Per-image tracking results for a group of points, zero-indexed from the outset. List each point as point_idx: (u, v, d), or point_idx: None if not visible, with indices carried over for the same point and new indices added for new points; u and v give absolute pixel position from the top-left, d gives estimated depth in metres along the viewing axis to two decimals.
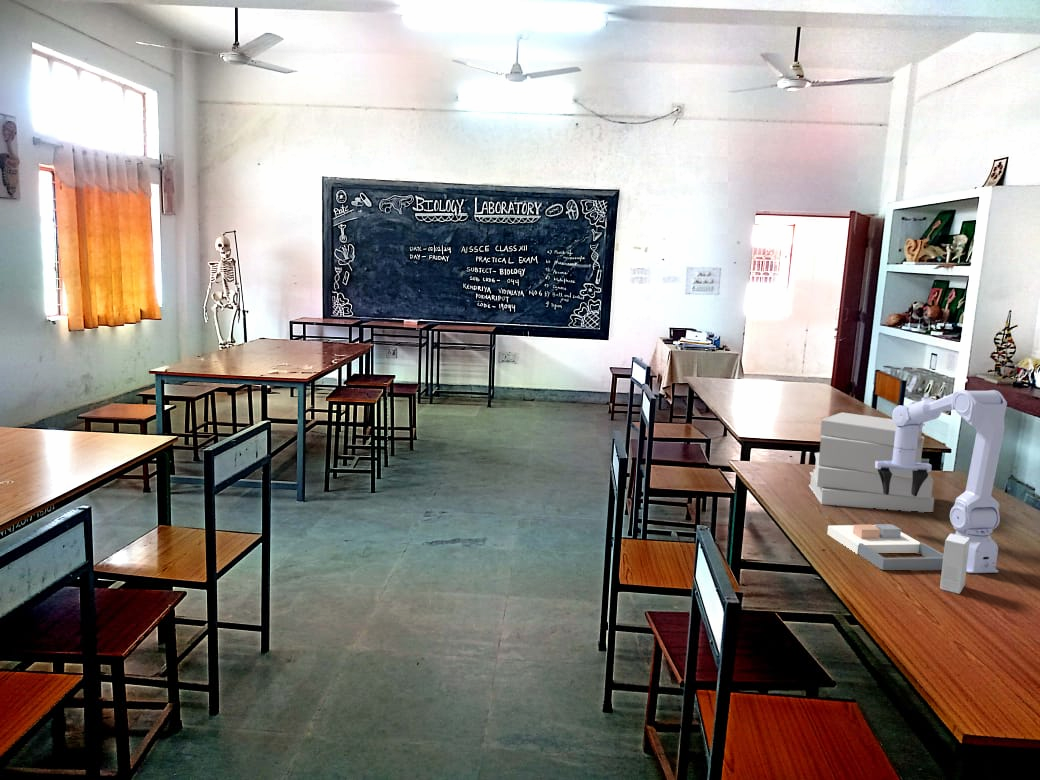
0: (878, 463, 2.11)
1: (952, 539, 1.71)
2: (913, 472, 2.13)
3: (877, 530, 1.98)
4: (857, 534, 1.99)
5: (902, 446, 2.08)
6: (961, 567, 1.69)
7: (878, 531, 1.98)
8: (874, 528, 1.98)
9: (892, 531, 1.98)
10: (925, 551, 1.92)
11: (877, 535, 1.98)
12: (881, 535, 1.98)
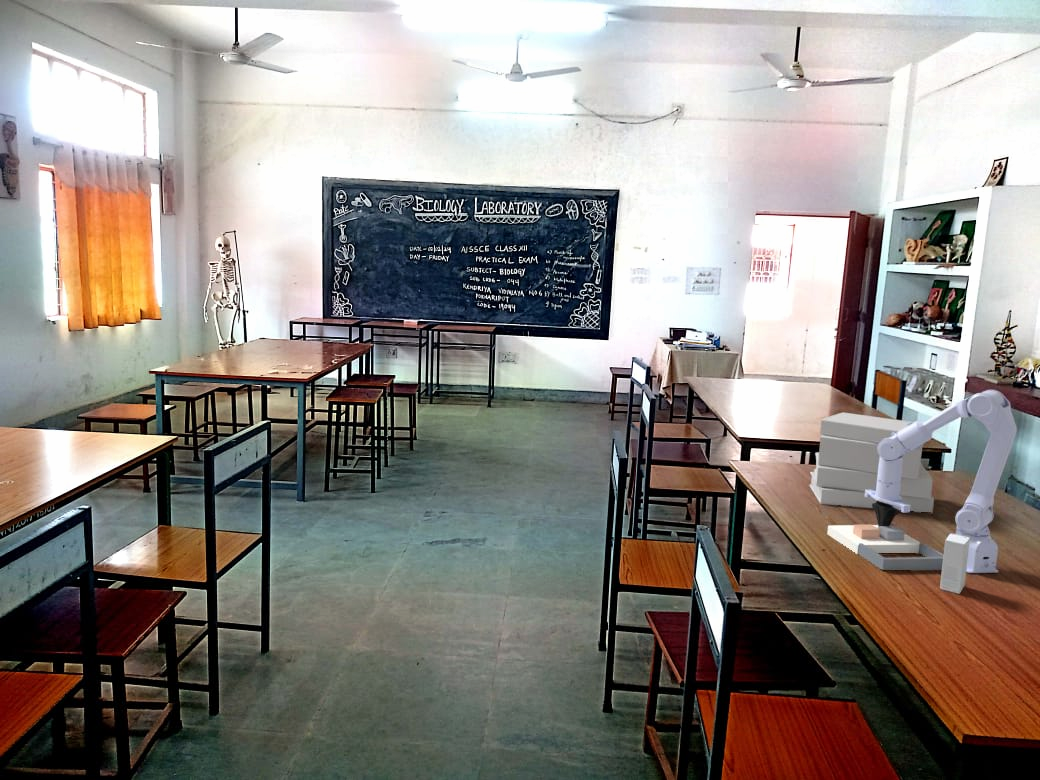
0: (865, 490, 2.07)
1: (952, 539, 1.71)
2: None
3: (877, 530, 1.98)
4: (857, 534, 1.99)
5: (892, 481, 1.97)
6: (961, 567, 1.69)
7: (878, 531, 1.98)
8: (874, 528, 1.98)
9: (896, 533, 1.97)
10: (925, 551, 1.92)
11: (877, 535, 1.98)
12: (885, 537, 1.97)
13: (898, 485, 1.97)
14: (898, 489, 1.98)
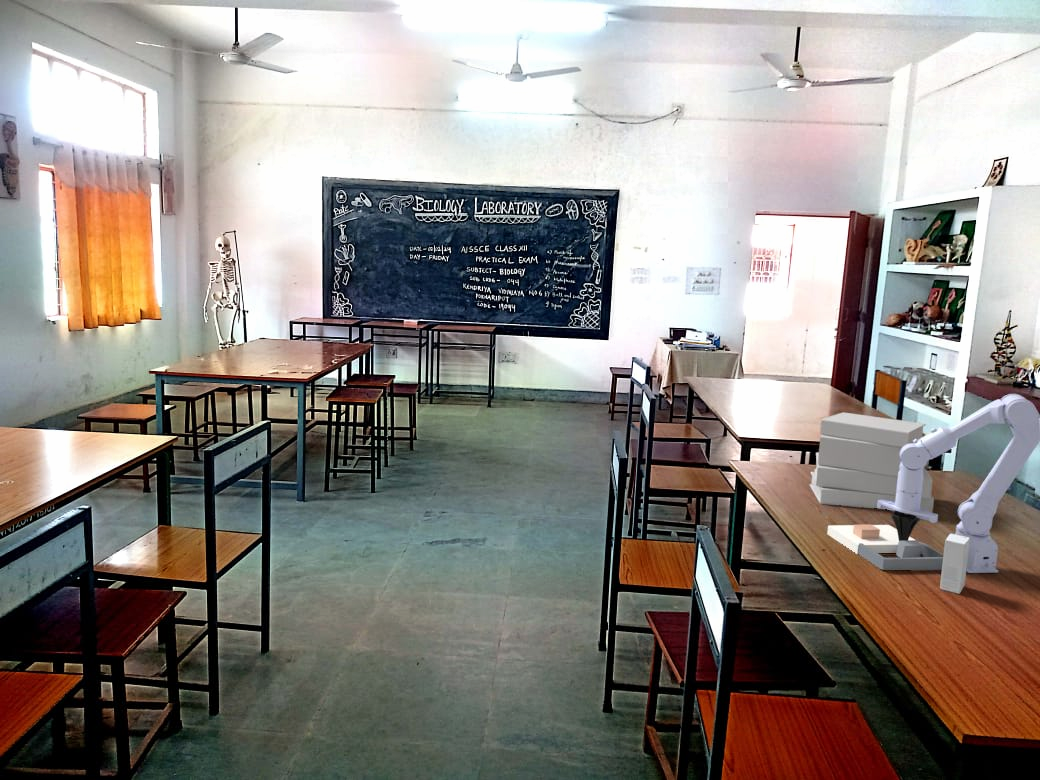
0: (878, 501, 1.97)
1: (952, 539, 1.71)
2: None
3: (877, 530, 1.98)
4: (857, 534, 1.99)
5: (917, 490, 1.88)
6: (961, 567, 1.69)
7: (878, 531, 1.98)
8: (874, 528, 1.98)
9: None
10: (925, 551, 1.92)
11: (877, 535, 1.98)
12: (897, 553, 1.92)
13: None
14: (920, 498, 1.90)
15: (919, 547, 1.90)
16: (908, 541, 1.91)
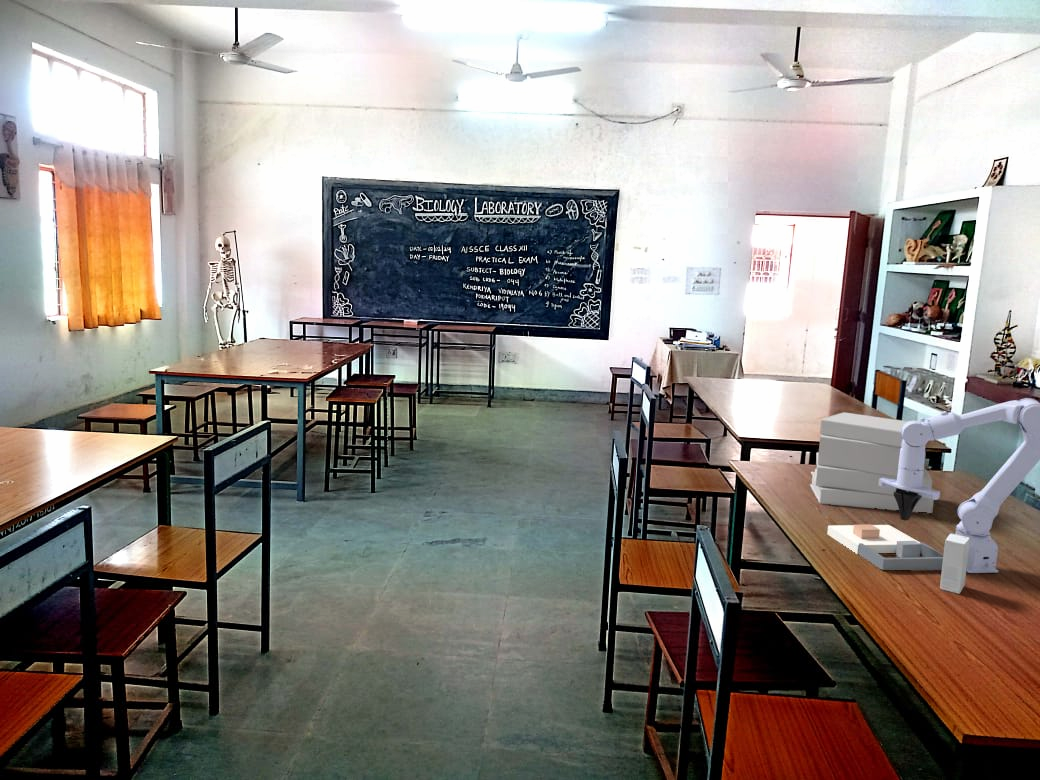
0: (880, 479, 1.96)
1: (952, 539, 1.71)
2: None
3: (877, 530, 1.98)
4: (857, 534, 1.99)
5: (919, 467, 1.87)
6: (961, 567, 1.69)
7: (878, 531, 1.98)
8: (874, 528, 1.98)
9: None
10: (925, 551, 1.92)
11: (877, 535, 1.98)
12: (897, 554, 1.92)
13: None
14: (922, 475, 1.89)
15: (917, 546, 1.91)
16: (906, 541, 1.92)
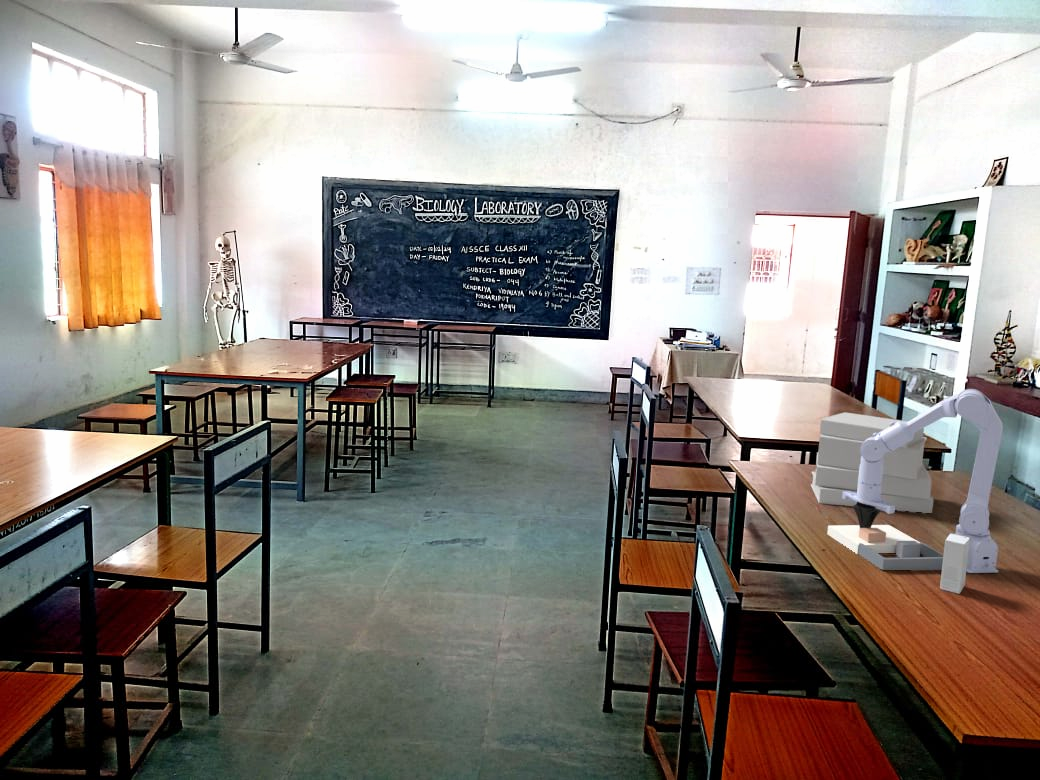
0: (843, 492, 2.04)
1: (952, 539, 1.71)
2: None
3: (883, 533, 1.95)
4: (864, 537, 1.96)
5: (876, 482, 1.95)
6: (961, 567, 1.69)
7: (884, 534, 1.95)
8: (880, 531, 1.96)
9: None
10: (925, 551, 1.92)
11: (883, 538, 1.95)
12: (897, 554, 1.92)
13: (880, 486, 1.96)
14: (880, 490, 1.96)
15: (917, 546, 1.91)
16: (906, 541, 1.92)
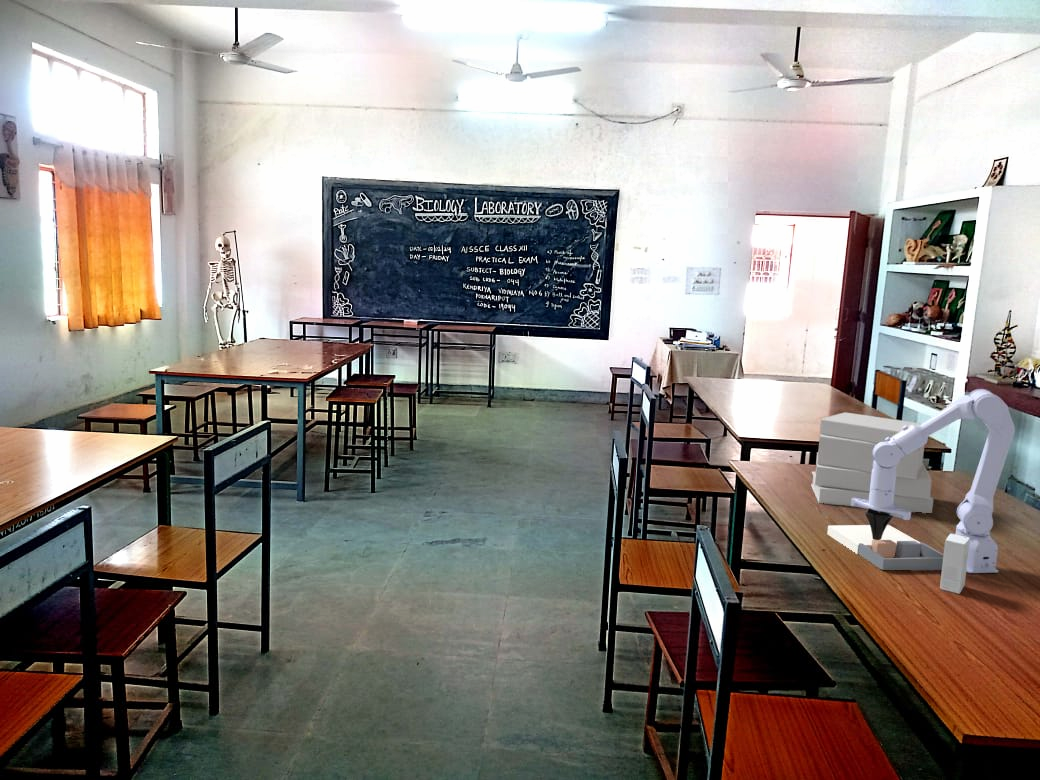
0: (852, 499, 1.98)
1: (952, 539, 1.71)
2: None
3: None
4: (872, 549, 1.92)
5: (891, 488, 1.90)
6: (961, 567, 1.69)
7: None
8: (891, 555, 1.91)
9: None
10: (925, 551, 1.92)
11: None
12: (897, 554, 1.92)
13: None
14: (893, 496, 1.91)
15: (917, 546, 1.91)
16: (906, 541, 1.92)
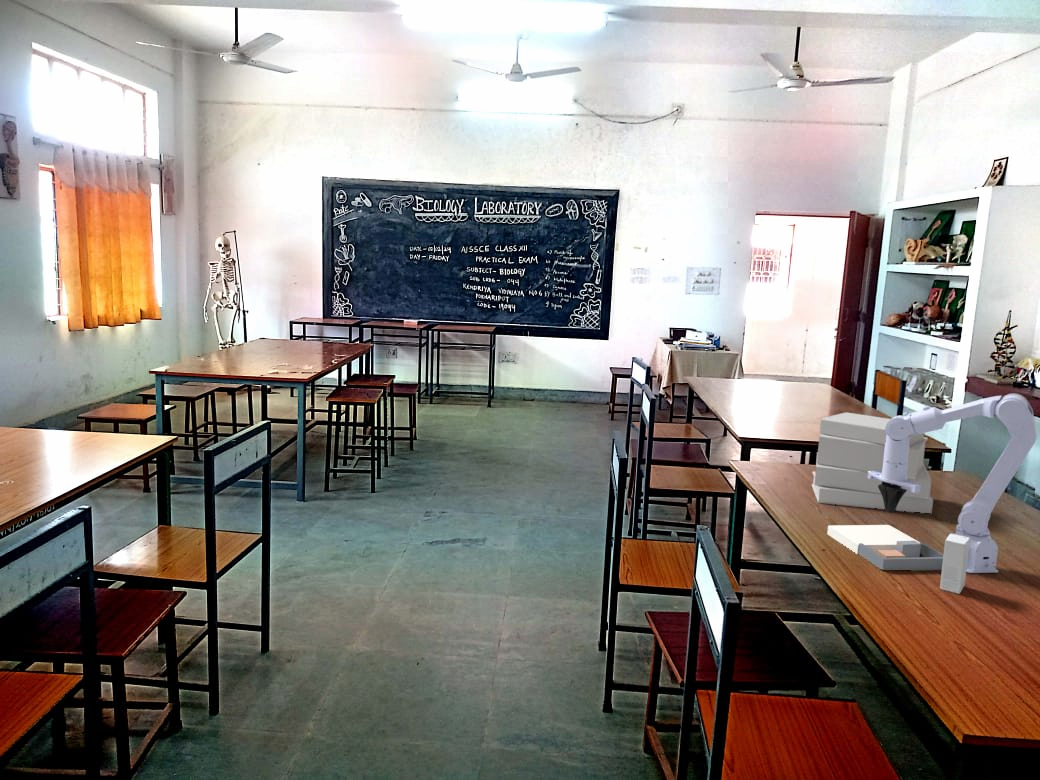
0: (868, 472, 2.02)
1: (952, 539, 1.71)
2: None
3: None
4: None
5: (901, 461, 1.92)
6: (961, 567, 1.69)
7: None
8: None
9: None
10: (925, 551, 1.92)
11: None
12: None
13: (906, 465, 1.93)
14: (906, 469, 1.93)
15: (917, 546, 1.91)
16: (906, 541, 1.92)
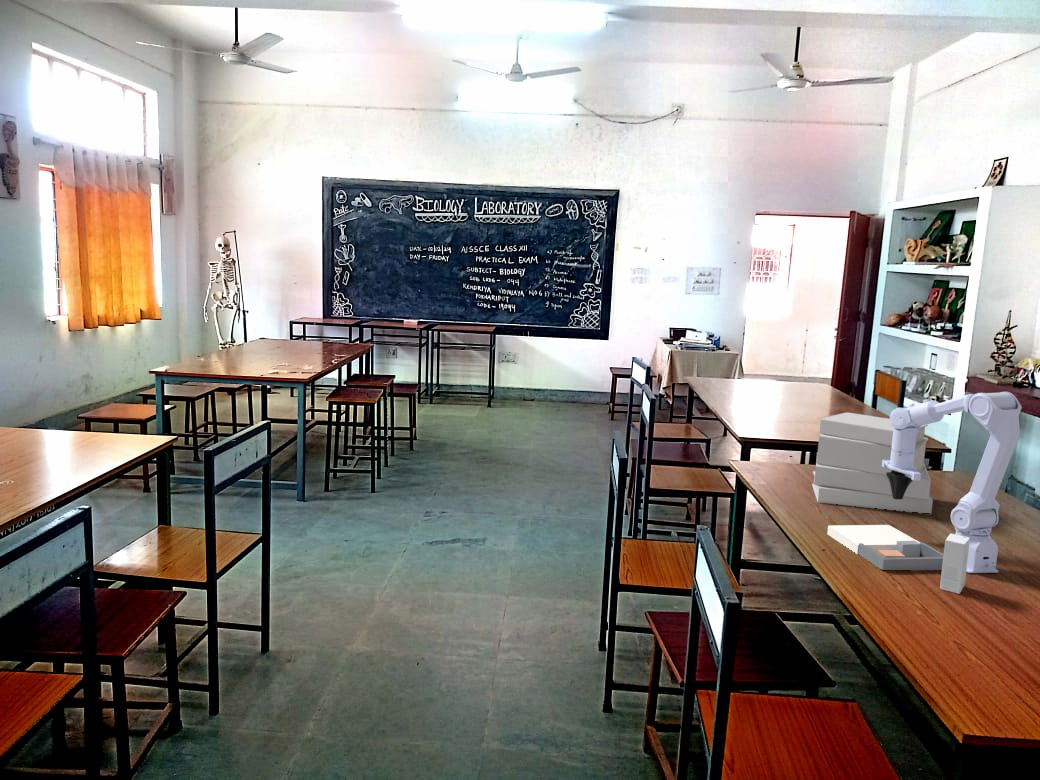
0: (882, 461, 2.13)
1: (952, 539, 1.71)
2: None
3: None
4: None
5: (902, 449, 2.03)
6: (961, 567, 1.69)
7: None
8: None
9: None
10: (925, 551, 1.92)
11: None
12: None
13: (911, 454, 2.03)
14: (911, 458, 2.03)
15: (917, 546, 1.91)
16: (906, 541, 1.92)
